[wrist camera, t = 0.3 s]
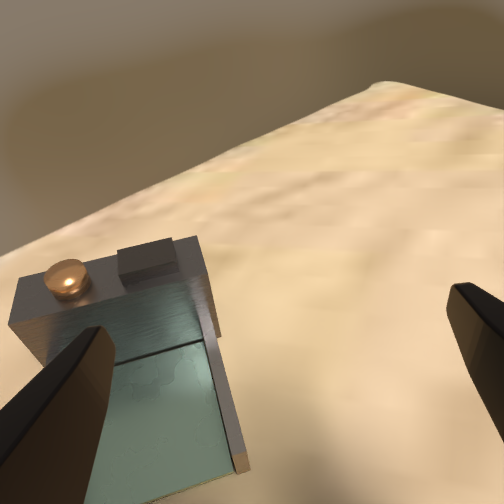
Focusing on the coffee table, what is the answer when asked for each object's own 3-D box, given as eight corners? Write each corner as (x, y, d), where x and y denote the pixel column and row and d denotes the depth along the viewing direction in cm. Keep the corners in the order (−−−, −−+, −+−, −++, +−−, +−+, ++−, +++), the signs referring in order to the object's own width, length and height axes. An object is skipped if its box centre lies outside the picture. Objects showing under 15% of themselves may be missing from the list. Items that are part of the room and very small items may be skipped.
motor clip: (258, 467, 22) (246, 403, 16) (42, 542, 20) (-55, 499, 14) (210, 298, 31) (193, 222, 26) (62, 338, 30) (9, 265, 24)
